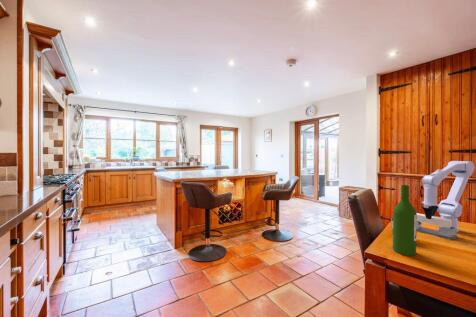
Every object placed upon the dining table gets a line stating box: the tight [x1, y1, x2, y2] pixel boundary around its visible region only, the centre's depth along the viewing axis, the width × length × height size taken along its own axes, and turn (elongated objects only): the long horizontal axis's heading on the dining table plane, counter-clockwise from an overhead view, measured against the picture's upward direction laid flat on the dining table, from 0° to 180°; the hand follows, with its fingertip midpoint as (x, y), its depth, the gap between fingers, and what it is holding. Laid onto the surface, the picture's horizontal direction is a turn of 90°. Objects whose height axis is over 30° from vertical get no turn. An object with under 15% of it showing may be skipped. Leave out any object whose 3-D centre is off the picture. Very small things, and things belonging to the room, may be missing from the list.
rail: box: [416, 212, 452, 228], centre depth 126 cm, size 4×18×4 cm, turn 32°
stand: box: [417, 221, 458, 241], centre depth 126 cm, size 8×22×6 cm, turn 32°
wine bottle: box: [392, 184, 418, 257], centre depth 101 cm, size 9×9×32 cm
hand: (430, 218), depth 126 cm, fingers closed on rail, 4 cm apart
